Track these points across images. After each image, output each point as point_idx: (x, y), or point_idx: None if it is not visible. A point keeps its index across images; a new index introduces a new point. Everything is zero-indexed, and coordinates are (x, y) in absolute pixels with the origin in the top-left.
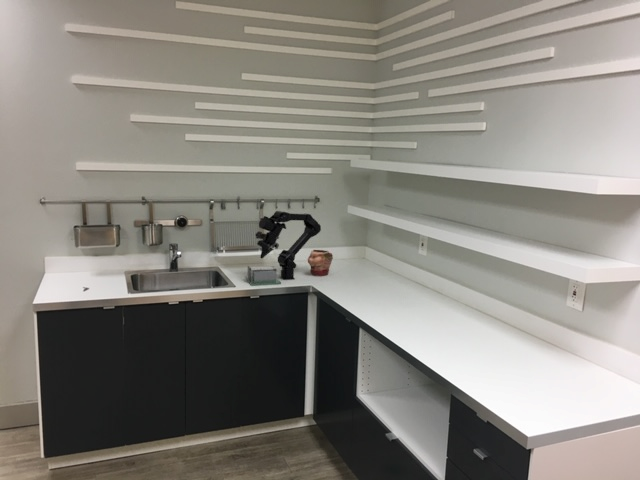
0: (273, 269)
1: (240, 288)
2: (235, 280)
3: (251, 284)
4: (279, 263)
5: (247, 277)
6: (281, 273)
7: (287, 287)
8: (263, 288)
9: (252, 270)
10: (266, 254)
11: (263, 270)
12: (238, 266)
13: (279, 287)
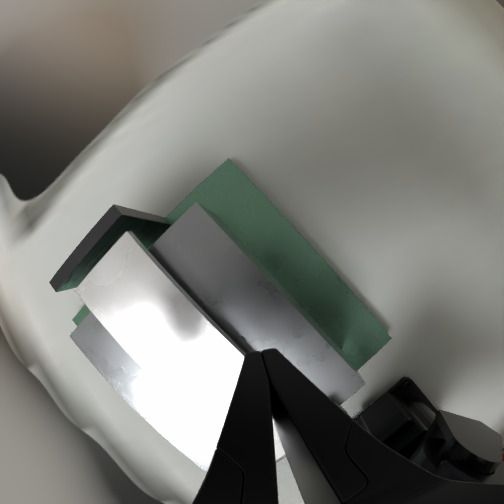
0: None
1: (15, 282)
2: (150, 130)
3: (77, 315)
4: (419, 447)
5: (222, 181)
6: (374, 425)
7: (179, 501)
8: (79, 404)
9: None
10: (296, 479)
11: None
12: (471, 8)
13: (151, 472)
